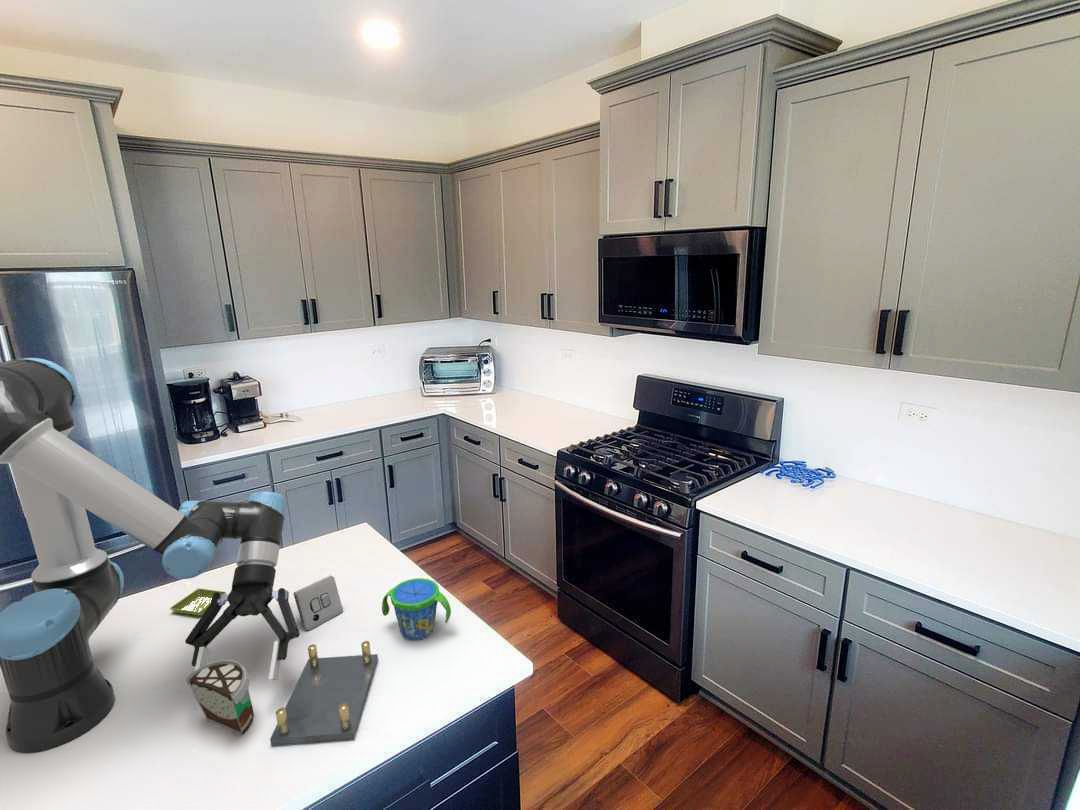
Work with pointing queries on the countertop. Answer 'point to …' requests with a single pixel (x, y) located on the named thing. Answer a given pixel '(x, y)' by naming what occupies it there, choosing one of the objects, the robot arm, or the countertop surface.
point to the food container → (224, 694)
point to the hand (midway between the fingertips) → (235, 683)
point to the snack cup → (416, 606)
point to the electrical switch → (318, 602)
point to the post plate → (326, 699)
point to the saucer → (193, 597)
